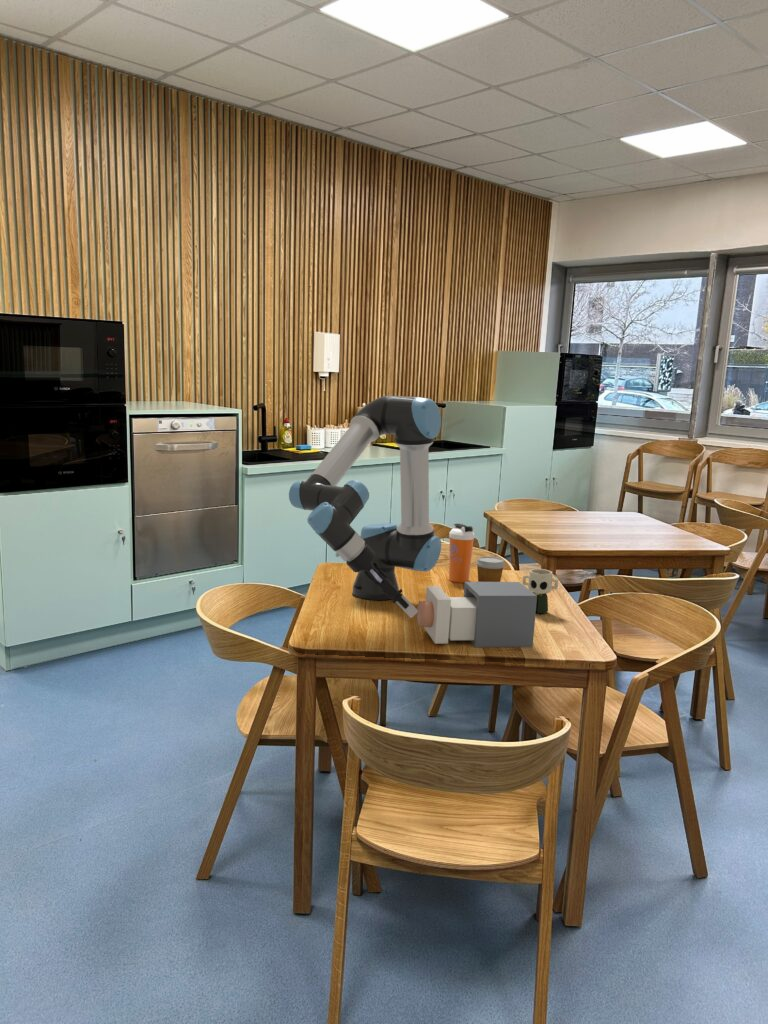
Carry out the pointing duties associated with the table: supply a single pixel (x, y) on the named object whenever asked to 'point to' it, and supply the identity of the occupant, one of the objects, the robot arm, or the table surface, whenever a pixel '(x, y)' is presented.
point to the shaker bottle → (460, 553)
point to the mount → (503, 614)
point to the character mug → (540, 586)
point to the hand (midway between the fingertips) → (414, 614)
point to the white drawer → (447, 616)
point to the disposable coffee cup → (489, 569)
